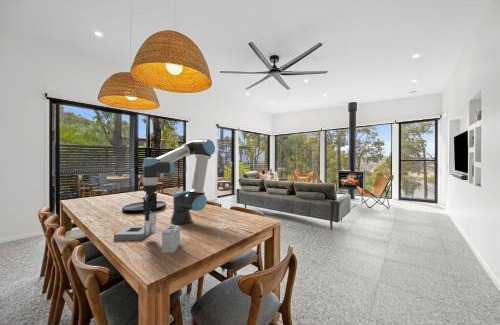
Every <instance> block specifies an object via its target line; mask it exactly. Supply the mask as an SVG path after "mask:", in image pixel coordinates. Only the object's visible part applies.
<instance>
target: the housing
mask: <svg viewBox="0 0 500 325" xmlns="http://www.w3.org/2000/svg"><path fill="white" fill-rule="evenodd" d="M148 236H149V235H144V225H127V226H126V227H124V228H122V229H120V230H119V231H117V232H116V233H114V234H113V241H143V240H144V239H145V238H147V237H148Z"/></svg>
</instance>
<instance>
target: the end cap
mask: <svg viewBox="0 0 500 325" xmlns="http://www.w3.org/2000/svg"><path fill="white" fill-rule="evenodd" d="M150 214H151V226H145V215H143V217H144V220H143V222H144V223H143V226H144V235H148V236H151V235H155V234H156V232H157V228H156V227H157V223H156V222H157V211H155V212H153V211H151V210H150Z"/></svg>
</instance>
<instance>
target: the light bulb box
mask: <svg viewBox="0 0 500 325" xmlns="http://www.w3.org/2000/svg"><path fill="white" fill-rule="evenodd" d="M180 232H181V226H180V225H167V227H166V228H165V229H164V230H163V231H162V232H161V253H163V254H165V253H175V252H176V251H177V249H178V247H179V246H180V243H181V242H180V241H181V238H180V237H181V233H180Z"/></svg>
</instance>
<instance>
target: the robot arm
mask: <svg viewBox="0 0 500 325" xmlns="http://www.w3.org/2000/svg"><path fill="white" fill-rule="evenodd" d="M215 151H216V146H215V144H214V142H213V141H212V140H211V139H206V138H205V139H193V140H189V141H188V142H186V143H184V144H181V145H180V147H179V148H176V149H173V150H172V151H169V152H167V153H165V154H163V155H160V156H159V157H144V158H143V163H142V166H141V169H142V170H143V176H142V181H143V185H142V186H143V188H142V190H143V192H144V193H145V196H143V198H142V199H143V207H142V211H143V212H142V215H143V216H144V215H145V226H151V214H150V211H153V212H158V210H157V209H158V208H157V207H158V206H157V205H158V200H157V198H158V197H157V196H158V193H157V191H158V189H159V188H158V184H159V175H161V174H172V173H174V171H175V170H176V164H175V163H174V162H177V161H179V160H181V159H183V158H184V157H189V156H193V155H194V156H195V157H196V162H195V167H194V172H193V176H192V177H193V178H192V184H191V188H190V189H189V190H186V191H185V190H184V191H178V192H174V194H173V201H172V202H173V204H172V205H173V212H172V216H171V219H170V224H172V225H176V226H180V225H186V224H190V223H191V222H192V220H193V219H192V215H191V212H190V211H194V212H195V211H196V212H200V211H202V210H204V208H205V207H206V205H207V203H208V200H207V199H208V198H207V196H206V195H205V191H204V188H205V182H206V176H207V168H208V164H209V160H210V159H211V156H212V155H214V153H215Z"/></svg>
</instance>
